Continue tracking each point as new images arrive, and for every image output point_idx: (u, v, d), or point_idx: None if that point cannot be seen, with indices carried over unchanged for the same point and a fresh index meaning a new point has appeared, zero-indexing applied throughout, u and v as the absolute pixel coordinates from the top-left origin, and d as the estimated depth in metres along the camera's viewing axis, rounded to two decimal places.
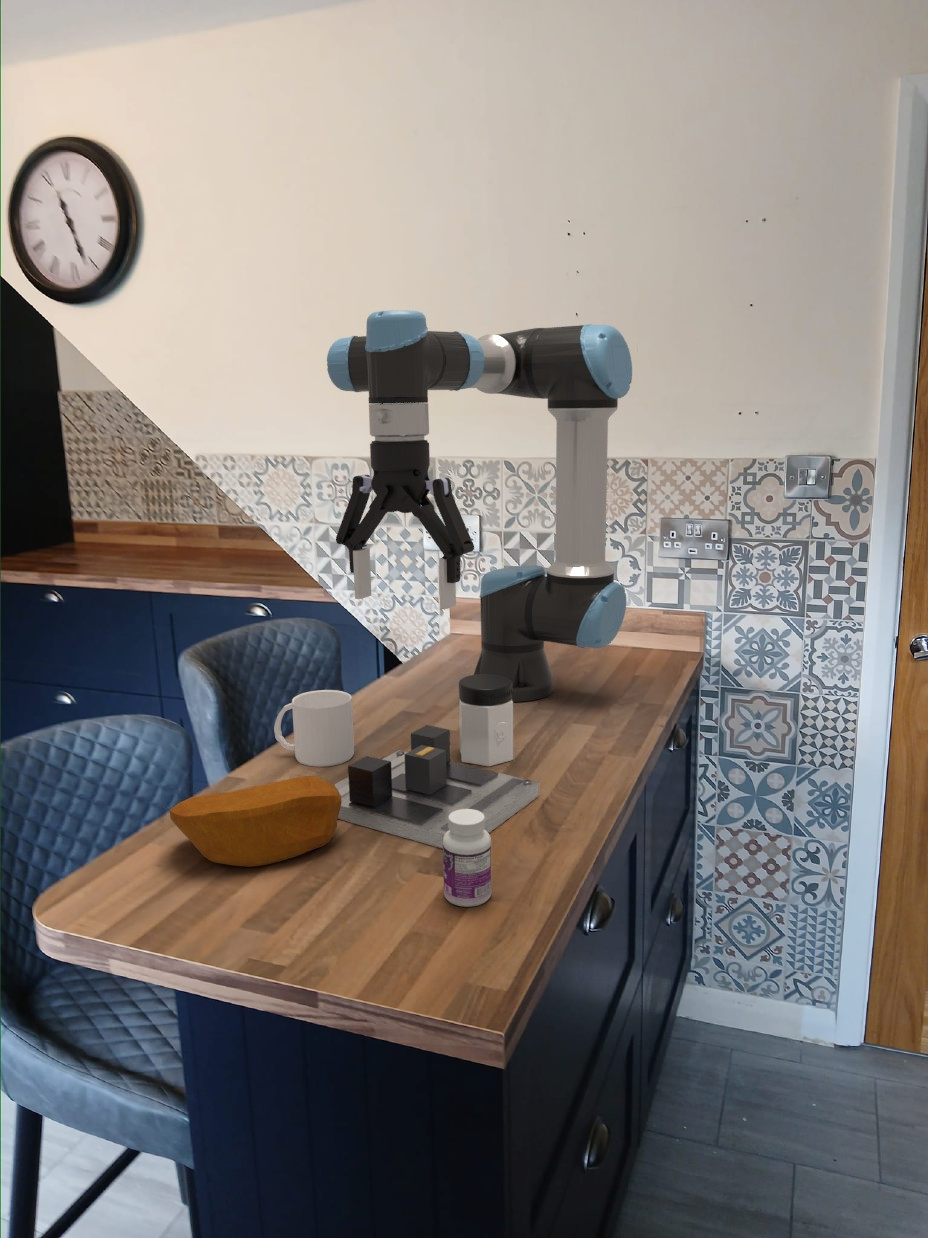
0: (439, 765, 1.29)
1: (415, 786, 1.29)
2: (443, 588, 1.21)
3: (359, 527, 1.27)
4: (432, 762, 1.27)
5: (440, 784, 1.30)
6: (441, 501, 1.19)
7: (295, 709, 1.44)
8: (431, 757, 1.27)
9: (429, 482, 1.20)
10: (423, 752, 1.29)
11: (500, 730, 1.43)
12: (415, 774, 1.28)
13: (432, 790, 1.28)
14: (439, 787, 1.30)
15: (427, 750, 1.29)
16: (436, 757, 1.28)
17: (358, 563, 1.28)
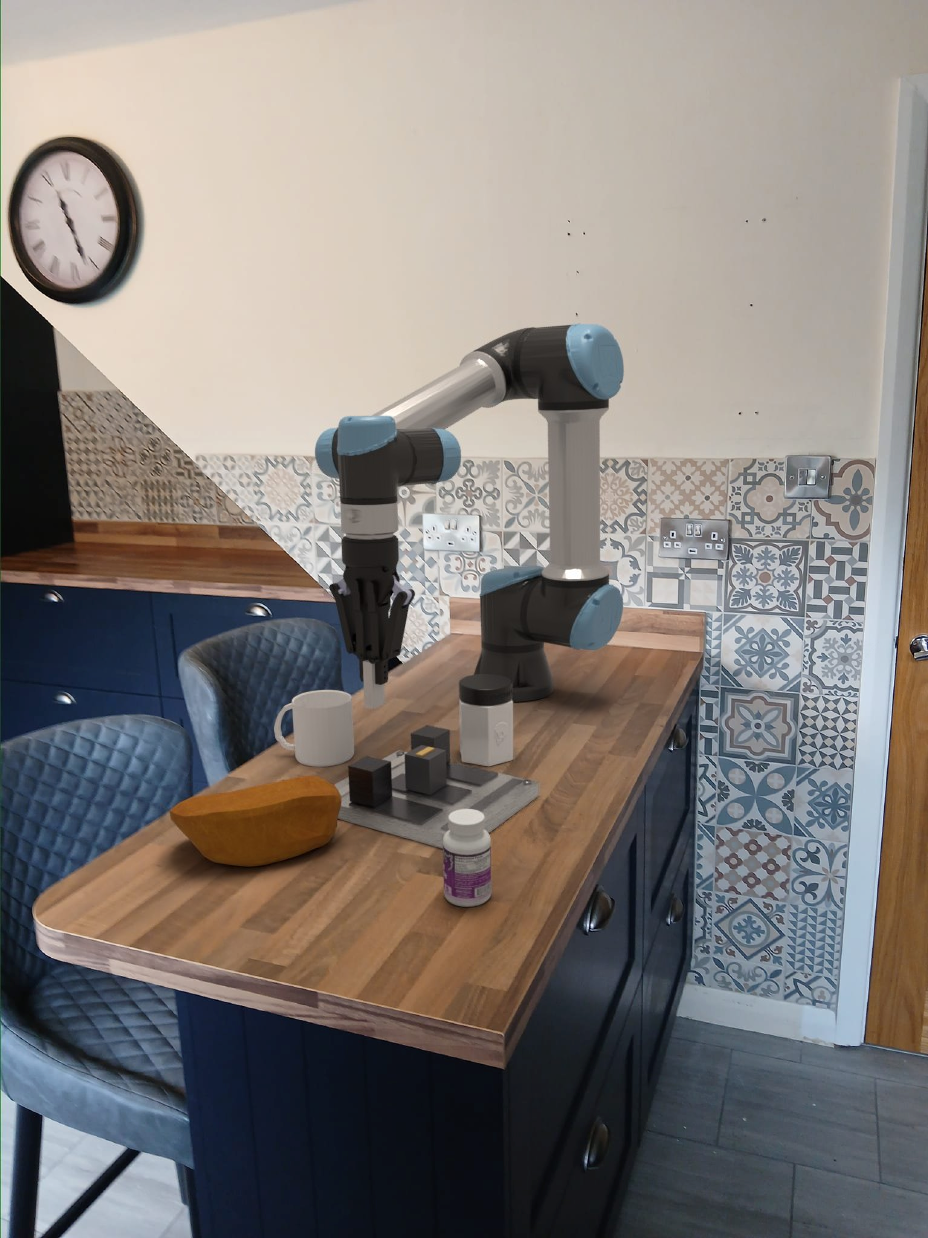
0: (439, 765, 1.29)
1: (415, 786, 1.29)
2: (371, 689, 1.30)
3: (357, 633, 1.30)
4: (432, 762, 1.27)
5: (440, 784, 1.30)
6: (395, 611, 1.25)
7: (295, 709, 1.44)
8: (431, 757, 1.27)
9: (396, 586, 1.26)
10: (423, 752, 1.29)
11: (500, 730, 1.43)
12: (415, 774, 1.28)
13: (432, 790, 1.28)
14: (439, 787, 1.30)
15: (427, 750, 1.29)
16: (436, 757, 1.28)
17: None
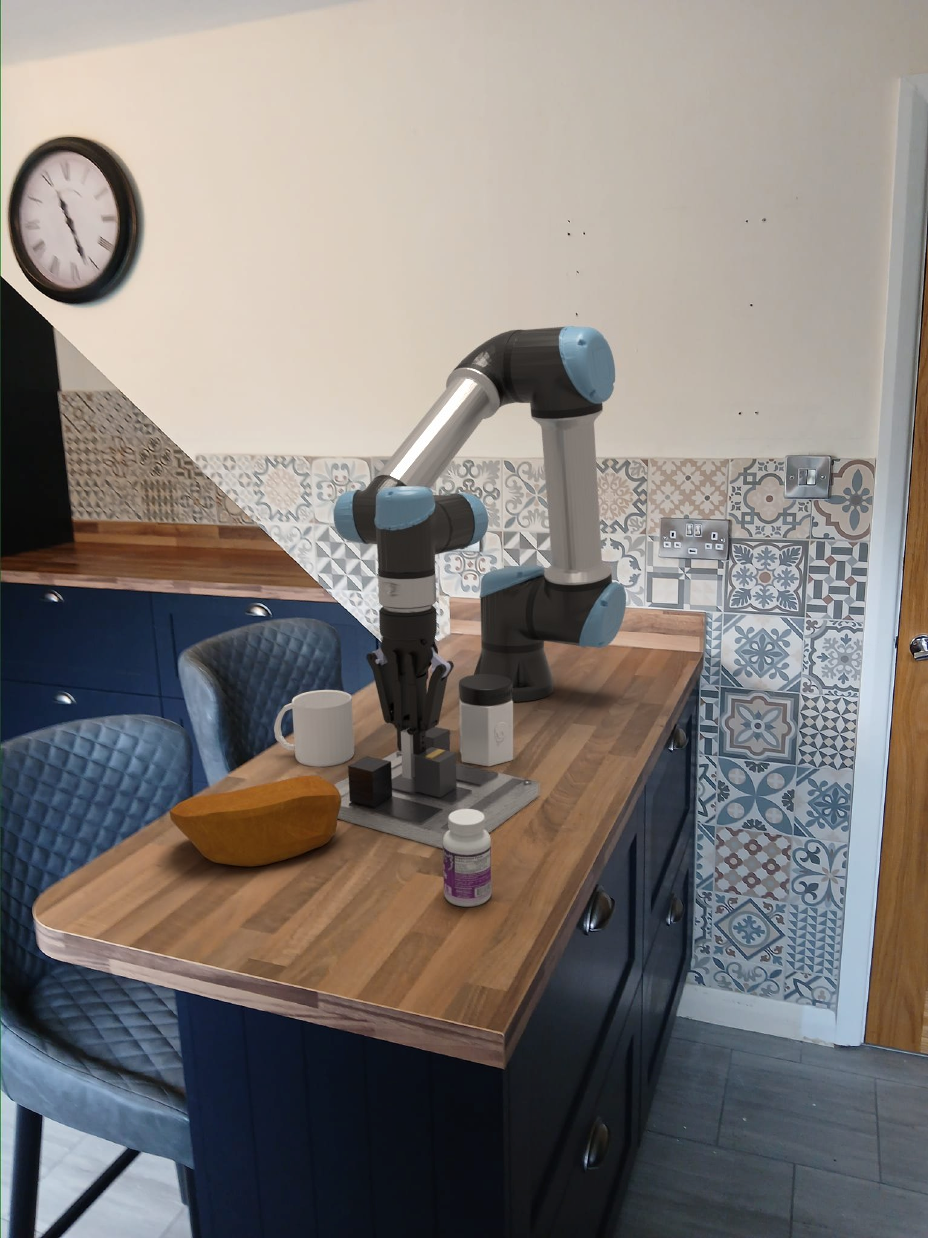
0: (449, 767, 1.28)
1: (425, 789, 1.28)
2: (409, 759, 1.29)
3: (395, 704, 1.29)
4: (442, 764, 1.27)
5: (450, 786, 1.29)
6: (434, 684, 1.25)
7: (295, 709, 1.44)
8: (441, 759, 1.27)
9: (435, 659, 1.25)
10: (433, 754, 1.28)
11: (500, 730, 1.43)
12: (425, 776, 1.28)
13: (442, 792, 1.27)
14: (449, 789, 1.29)
15: (437, 752, 1.29)
16: (446, 759, 1.27)
17: None
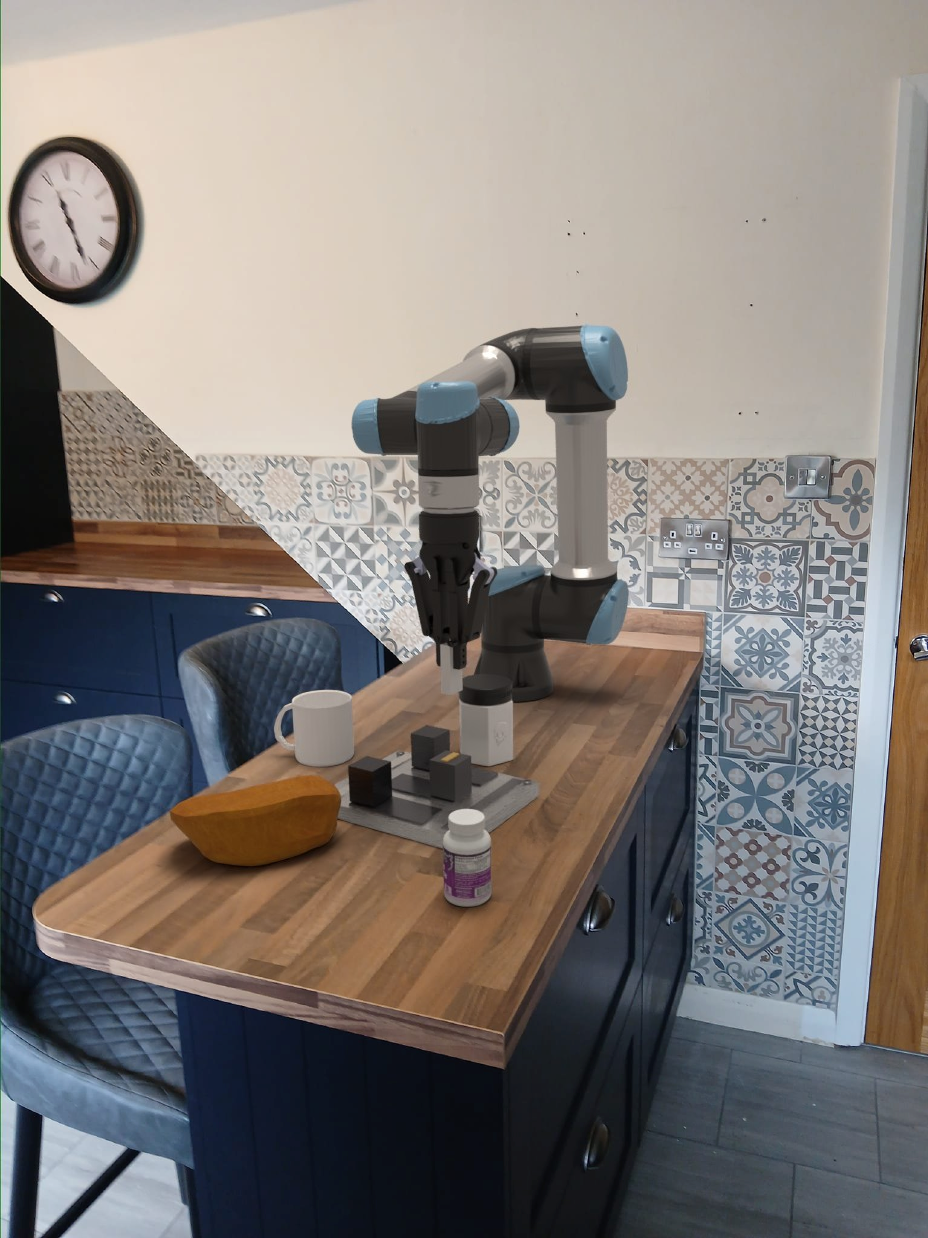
0: (464, 771, 1.27)
1: (440, 792, 1.27)
2: (449, 674, 1.22)
3: (434, 615, 1.22)
4: (458, 768, 1.25)
5: (465, 790, 1.28)
6: (477, 591, 1.18)
7: (295, 709, 1.44)
8: (457, 763, 1.25)
9: (478, 564, 1.18)
10: (448, 758, 1.27)
11: (500, 730, 1.43)
12: (440, 780, 1.26)
13: (457, 796, 1.26)
14: (464, 793, 1.27)
15: (452, 756, 1.27)
16: (461, 763, 1.26)
17: None
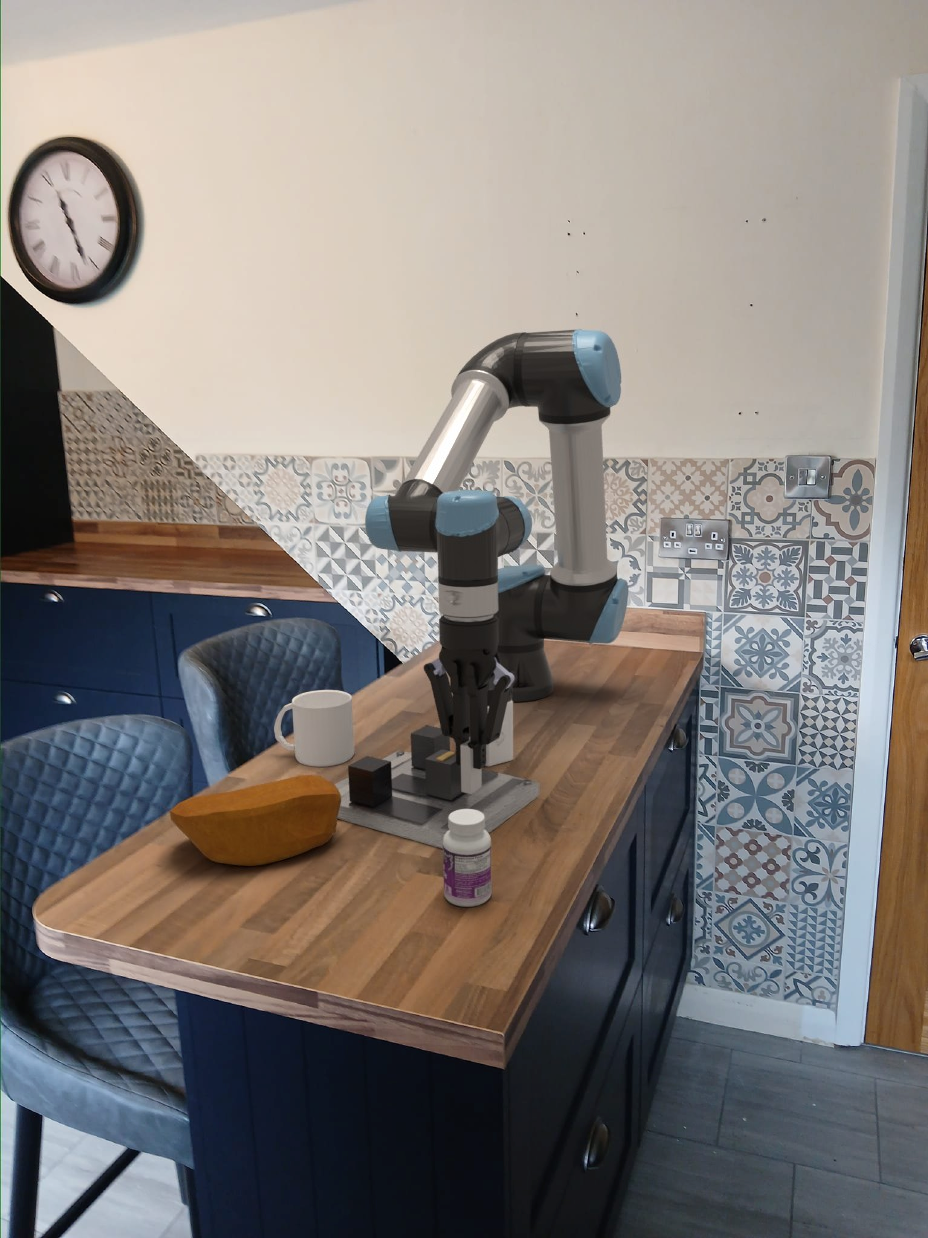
0: (460, 770, 1.27)
1: (435, 791, 1.27)
2: (469, 774, 1.24)
3: (454, 716, 1.24)
4: (453, 767, 1.26)
5: None
6: (498, 696, 1.20)
7: (295, 709, 1.44)
8: (452, 762, 1.26)
9: (498, 670, 1.20)
10: (444, 757, 1.27)
11: None
12: (435, 779, 1.27)
13: (453, 795, 1.26)
14: (460, 792, 1.28)
15: (448, 755, 1.28)
16: None
17: None
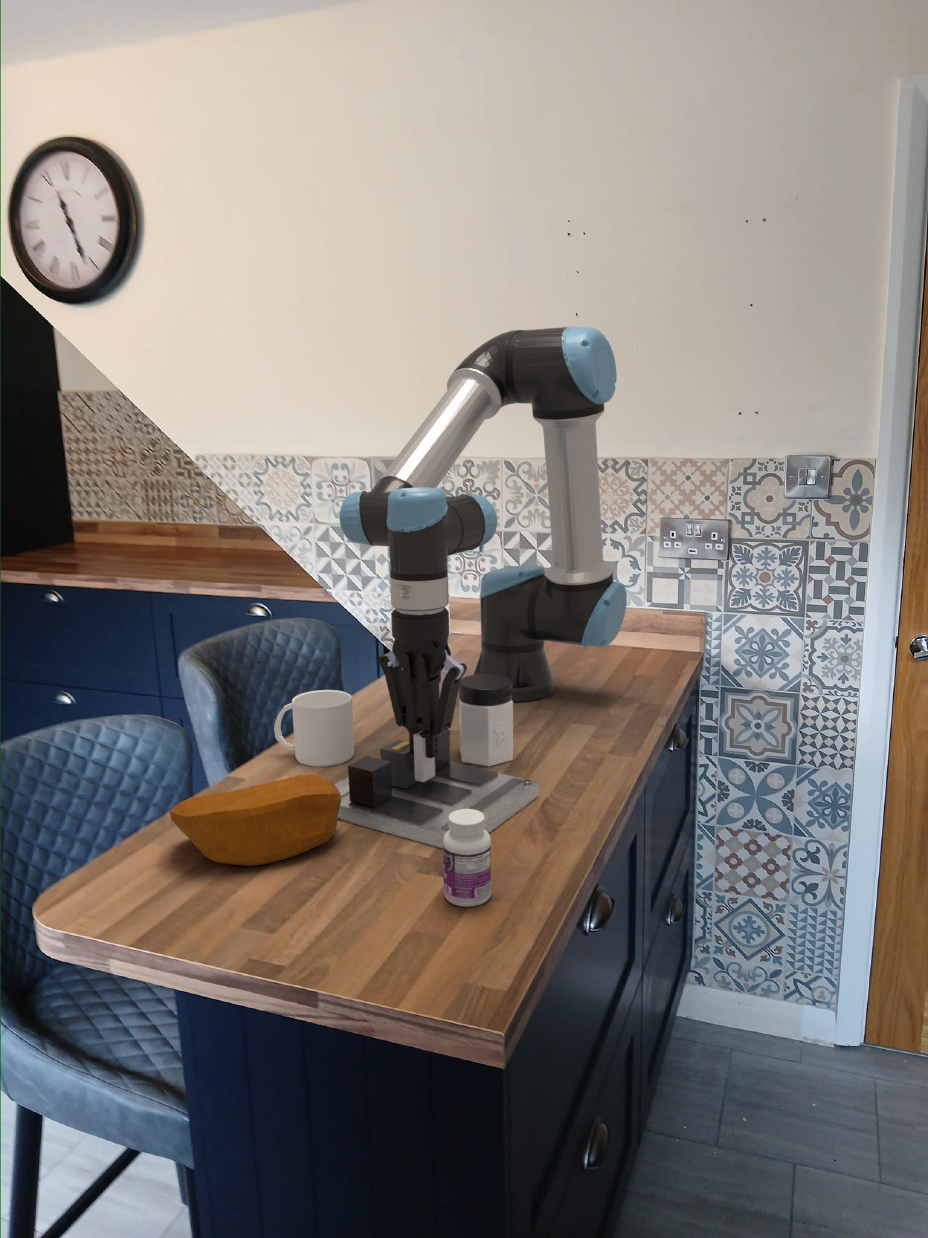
0: None
1: None
2: (422, 763, 1.28)
3: (407, 707, 1.28)
4: (407, 756, 1.30)
5: None
6: (447, 686, 1.24)
7: (295, 709, 1.44)
8: (406, 751, 1.30)
9: (448, 661, 1.24)
10: (399, 747, 1.31)
11: (500, 730, 1.43)
12: None
13: (407, 784, 1.30)
14: (414, 781, 1.32)
15: (403, 745, 1.32)
16: None
17: None
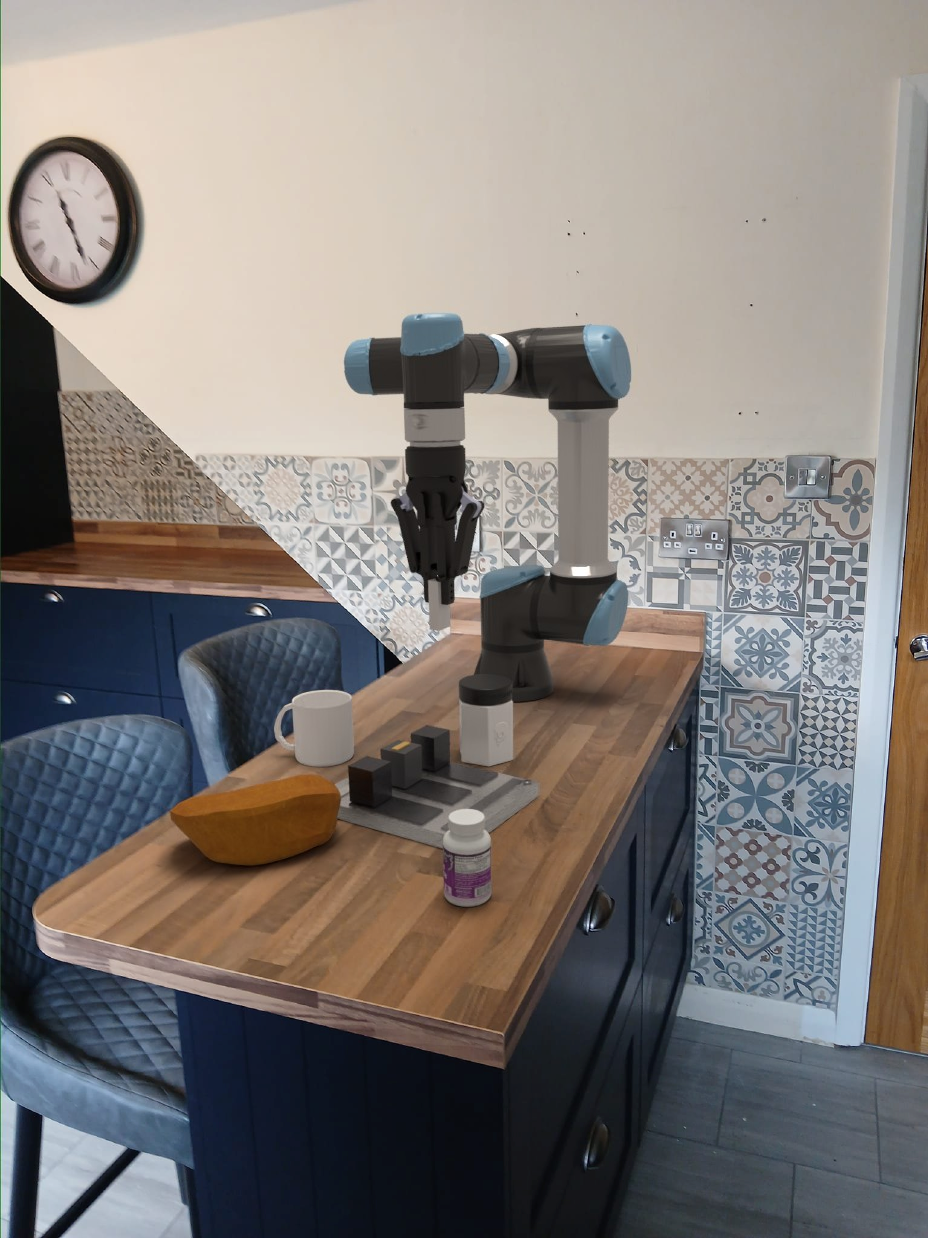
0: (414, 759, 1.31)
1: None
2: (437, 610, 1.23)
3: (422, 551, 1.22)
4: (407, 756, 1.30)
5: (416, 778, 1.32)
6: (464, 524, 1.18)
7: (295, 709, 1.44)
8: (406, 751, 1.30)
9: (465, 498, 1.18)
10: (399, 747, 1.31)
11: (500, 730, 1.43)
12: None
13: (407, 784, 1.30)
14: (415, 781, 1.32)
15: (403, 745, 1.32)
16: (411, 751, 1.30)
17: None
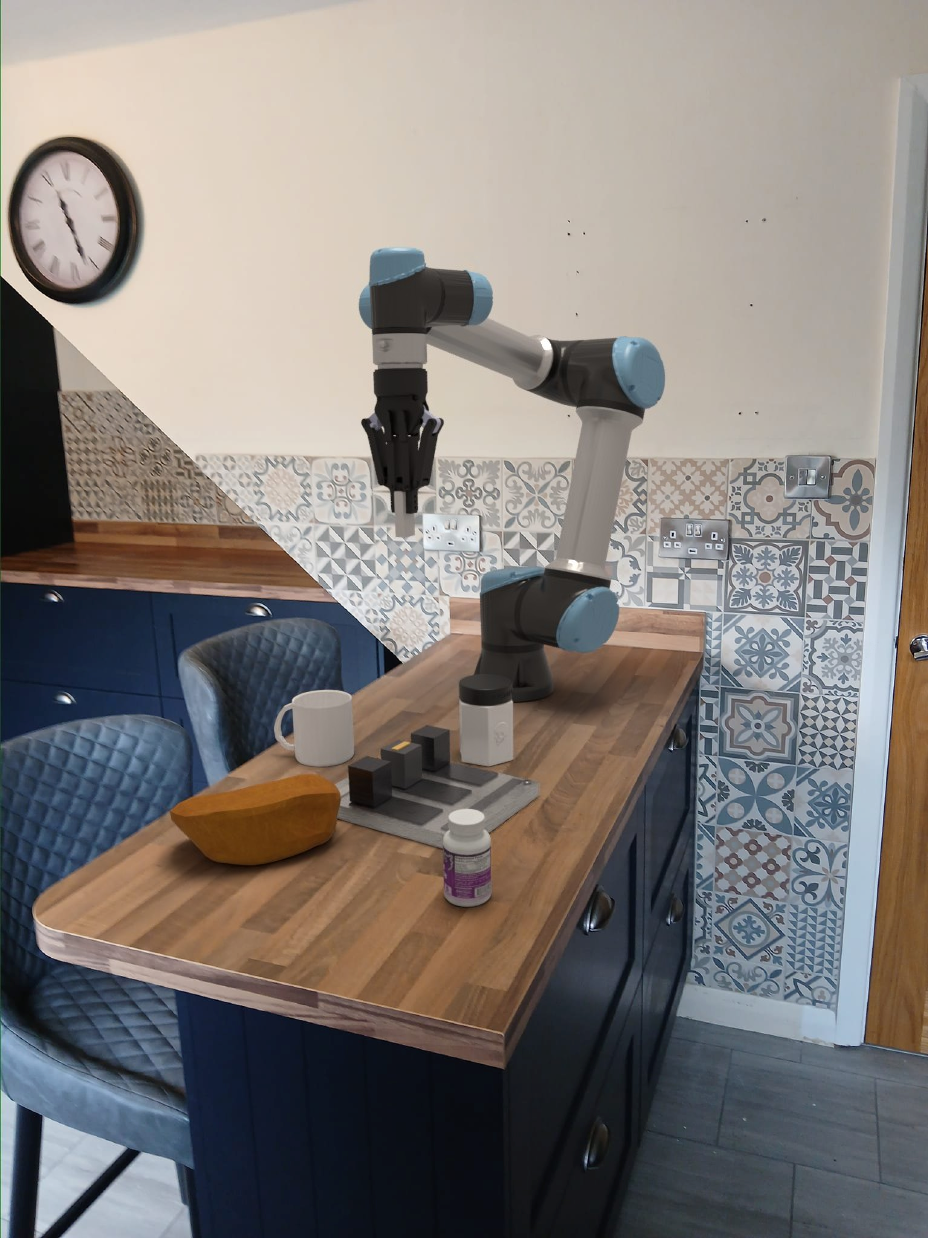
0: (414, 759, 1.31)
1: None
2: (402, 518, 1.37)
3: (388, 464, 1.36)
4: (407, 756, 1.30)
5: (416, 778, 1.32)
6: (425, 438, 1.32)
7: (295, 709, 1.44)
8: (406, 751, 1.30)
9: (426, 415, 1.32)
10: (399, 747, 1.31)
11: (500, 730, 1.43)
12: None
13: (407, 784, 1.30)
14: (415, 781, 1.32)
15: (403, 745, 1.32)
16: (411, 751, 1.30)
17: None
